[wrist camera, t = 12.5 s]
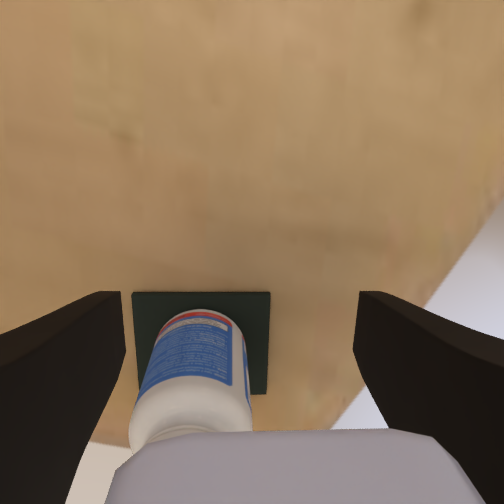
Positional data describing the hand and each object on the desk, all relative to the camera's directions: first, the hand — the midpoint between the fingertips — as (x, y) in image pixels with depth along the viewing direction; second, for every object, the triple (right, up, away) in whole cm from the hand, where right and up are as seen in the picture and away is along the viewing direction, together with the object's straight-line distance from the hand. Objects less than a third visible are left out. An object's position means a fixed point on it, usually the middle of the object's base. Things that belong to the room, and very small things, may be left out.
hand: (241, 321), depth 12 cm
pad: (-3, -4, +12) cm, 13 cm away
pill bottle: (-3, -4, +12) cm, 13 cm away
